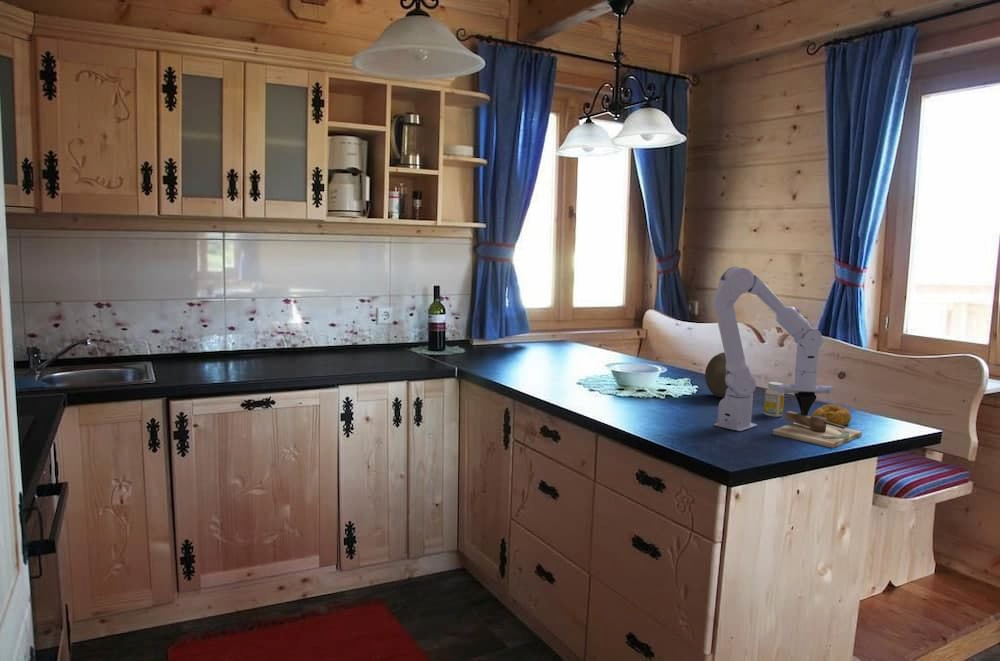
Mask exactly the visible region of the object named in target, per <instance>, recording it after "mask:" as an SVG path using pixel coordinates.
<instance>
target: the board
mask: <svg viewBox="0 0 1000 661" xmlns="http://www.w3.org/2000/svg"><path fill="white" fill-rule="evenodd" d="M772 435H776V436H781V437H783V438H788V439H792V440H798V441H801V442H805V443H810V444H814V445H818V446H824V447H827V448H831V449H834V448H836V447H839V446H841V445H843V444H846V443H848V441H849V442H851V441H853V440H855V438H856V439H858V438H860V437H862V435H863V431H860V430H855V429H851V428H846V427H845V429H842V428H839V427H835V426H831V425H828V424H826V431H824V432H819V431H813V430H810V427H808V426H804V425H801V424H797V423H794V422H791V423H790V424H789V423H788V424H785V425H783V426H780V427H776V428H774V429H772ZM857 437H858V438H857ZM850 440H851V441H850Z"/></svg>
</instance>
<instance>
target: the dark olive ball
mask: <svg viewBox="0 0 1000 661" xmlns="http://www.w3.org/2000/svg"><path fill="white" fill-rule="evenodd" d="M725 376H726V357H725V353H724V352H720V353H718V354H716V355H714V356H712V358H711V359H710V360H709V361H708V363H707V365H706V368H705V370H704V380H705V382H706V386H707V388H708V390H709V391H710V393H711V394H713V395H714V396H715V397H718V398H722V399H723V398H724V397H725V394H726V390H727V388H728V386H727V385H726V382H725Z"/></svg>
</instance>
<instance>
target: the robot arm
mask: <svg viewBox="0 0 1000 661" xmlns="http://www.w3.org/2000/svg"><path fill="white" fill-rule="evenodd" d="M746 292H747V293H750V294H754V295H755V296H756V297H758V298H759V299H760V300H761V301H762V302H763V303H764V304H765V305H766V306H767V307H768V308H769V309H770V310H772V311H773V312H774V313H775V314H776V322H777V323H778V324H779V325H780V326H781V327H782V329H784V331H785V332H787V333H788V334H789V336H791V337H792V338H793V340H794V343H796V344H797V346H796V353H795V354H796V355H795V368H794V370H795V371H794V384H783V385H778V393H780V394H784V395H785V394H794V396H795V399H796V401H797V404H798V406H799V407H798V408H799V409H800V414H803V415H807V416H809V412H810V410H811V407H812V405H813V404H814V402H815V401H816V400H817V395H816V394H828V395H834V390H835V389H834V387H833V386H832V385H821V384H819V385H818V374H819V362H820V359H819V358H820V348H821V347H822V345H823V344H824V343H825V342H824V341H825V339H824V338H823V335H822V333H821V332H820V331H819V330H818V329H816V328H813V322H812V321H808V320H807V319H806V318H805V317H804V316H803V315H802V314H801V312H802V311H801V310H800V308H798V307H794V306H789V305H787V306H786V305H785V304H784V303H783V301H782V300H781V299H780V298H779V297H778V296H777V295H776V294H775V293H774V291H772V289H771V288H770V287H769V286H768V285H767V284H766V283H765V282H764V281H763V280H762V279H761V278H760V277H759V276H757V275H756V274H754V273H753V271H751V270H750V269H749V268H745V267H738V266H731V267H729V268H727V269H726V270H725V271H724V272H723V273H722V275H721V276H720V277H719V282H718V285H717V287H716V291H715V294H714V296H713V300H712V301H713V303H712V304H713V306H714V311H715V315H716V321H717V324H718V330H719V333H720V338H721V344H722V348H723V353H725V357H726V376H725V382H726V385H727V386H728V388H727V390H726V394H725V397H724V398H722V399H720V401H719V403H718V408H717V422H716V423H714V424H713V425H714V426H715V427H719V428H720V427H721V428H723V429H724V428H725V429H729V430H733V431H737V432H742V431H745V430H749V429H752V428H755V427H757V426H758V424H757V423H752V410H753V397H754V396H753V395H754V392H755V390H756V388H757V383H756V380H755V378H754V376H753V375H752V374H751V371H750V368H749V366H748V363H747V361H746V358H745V353H744V348H743V344H742V339H741V334H740V330H739V326H738V320H737V316H736V312H735V307H734V305H735V303H736V302H737V300H738V299H739V298H740V297H741V296H742V295H743V294H744V293H746Z"/></svg>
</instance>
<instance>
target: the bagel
mask: <svg viewBox="0 0 1000 661" xmlns="http://www.w3.org/2000/svg"><path fill="white" fill-rule="evenodd" d="M811 416H820V417H825V418H827V422H830V423H834V424H837V425H841V426H846V425H847V426H848V424H849V423H850V422H851V421H852V420H851V419H852V416H851V412H850V411H849V410H848V409H847V408H846V407H845V406H841V405H839V404H824V405H822V406H820V407H818V408H817V409H815V410H814V411H813V412H811V415H810V417H811Z"/></svg>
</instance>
